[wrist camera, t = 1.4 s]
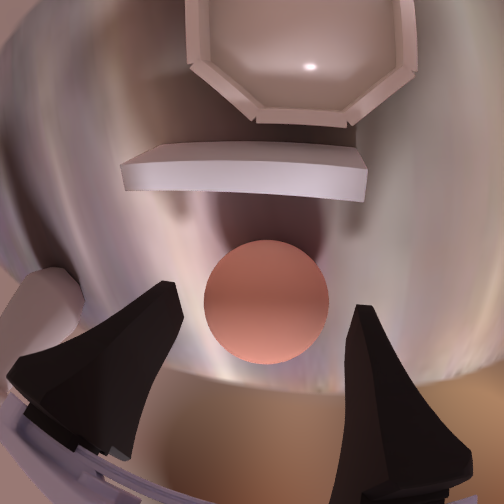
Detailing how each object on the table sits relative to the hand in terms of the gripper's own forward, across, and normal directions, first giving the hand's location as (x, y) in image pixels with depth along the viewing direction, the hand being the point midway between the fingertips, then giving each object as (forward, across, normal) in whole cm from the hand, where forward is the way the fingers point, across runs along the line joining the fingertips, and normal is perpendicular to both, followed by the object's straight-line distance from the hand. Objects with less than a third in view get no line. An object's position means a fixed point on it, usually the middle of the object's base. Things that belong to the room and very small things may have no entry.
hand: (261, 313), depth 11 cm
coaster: (+3, -1, -11) cm, 11 cm away
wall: (+3, +1, -5) cm, 6 cm away
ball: (+3, 0, 0) cm, 3 cm away
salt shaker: (+3, +17, +4) cm, 18 cm away
